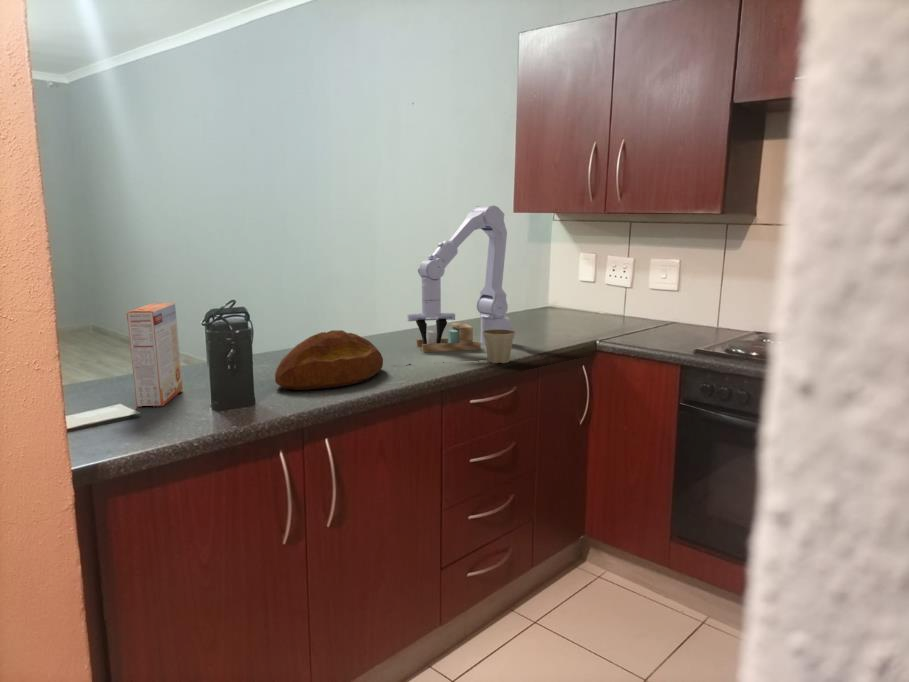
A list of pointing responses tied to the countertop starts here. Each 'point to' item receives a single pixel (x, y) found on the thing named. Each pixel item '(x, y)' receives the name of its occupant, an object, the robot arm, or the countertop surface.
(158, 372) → the cracker box
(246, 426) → the countertop surface
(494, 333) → the flower pot
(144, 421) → the countertop surface
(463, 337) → the wooden frame
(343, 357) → the bread
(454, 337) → the block
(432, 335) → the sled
